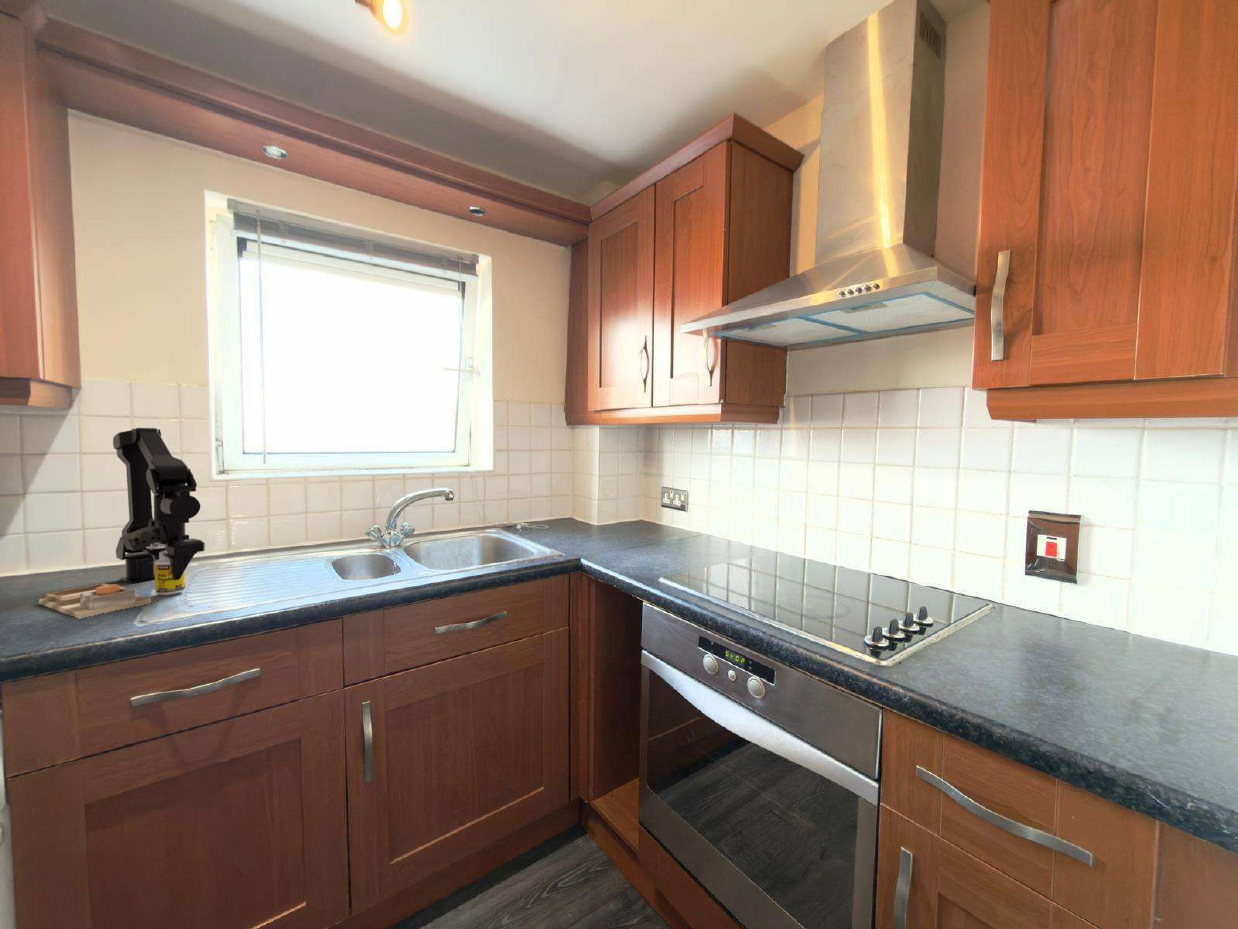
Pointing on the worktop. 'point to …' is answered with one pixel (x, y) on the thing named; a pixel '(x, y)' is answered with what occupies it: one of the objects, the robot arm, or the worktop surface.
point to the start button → (107, 589)
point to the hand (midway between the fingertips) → (170, 578)
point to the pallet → (91, 601)
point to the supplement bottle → (166, 577)
